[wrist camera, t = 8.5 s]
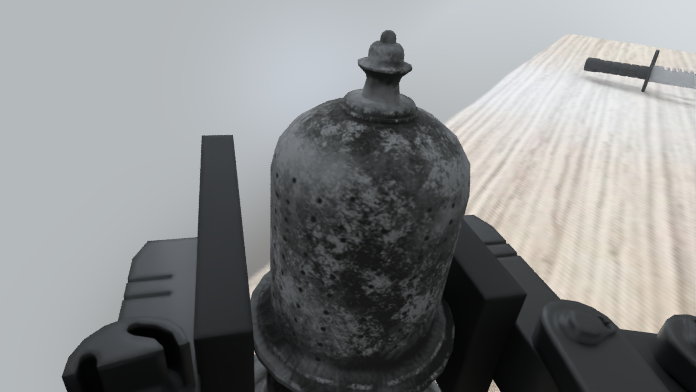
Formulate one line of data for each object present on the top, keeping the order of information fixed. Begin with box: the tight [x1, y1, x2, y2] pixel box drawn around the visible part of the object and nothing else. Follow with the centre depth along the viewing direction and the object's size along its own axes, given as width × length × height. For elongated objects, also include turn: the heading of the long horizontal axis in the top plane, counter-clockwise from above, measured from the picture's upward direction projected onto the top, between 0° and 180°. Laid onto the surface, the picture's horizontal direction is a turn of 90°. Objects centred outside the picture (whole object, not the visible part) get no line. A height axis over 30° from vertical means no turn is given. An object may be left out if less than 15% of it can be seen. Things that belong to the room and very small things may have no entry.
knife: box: [584, 50, 696, 92], centre depth 53 cm, size 19×2×5 cm, turn 52°
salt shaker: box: [250, 30, 470, 392], centre depth 8 cm, size 6×6×12 cm
